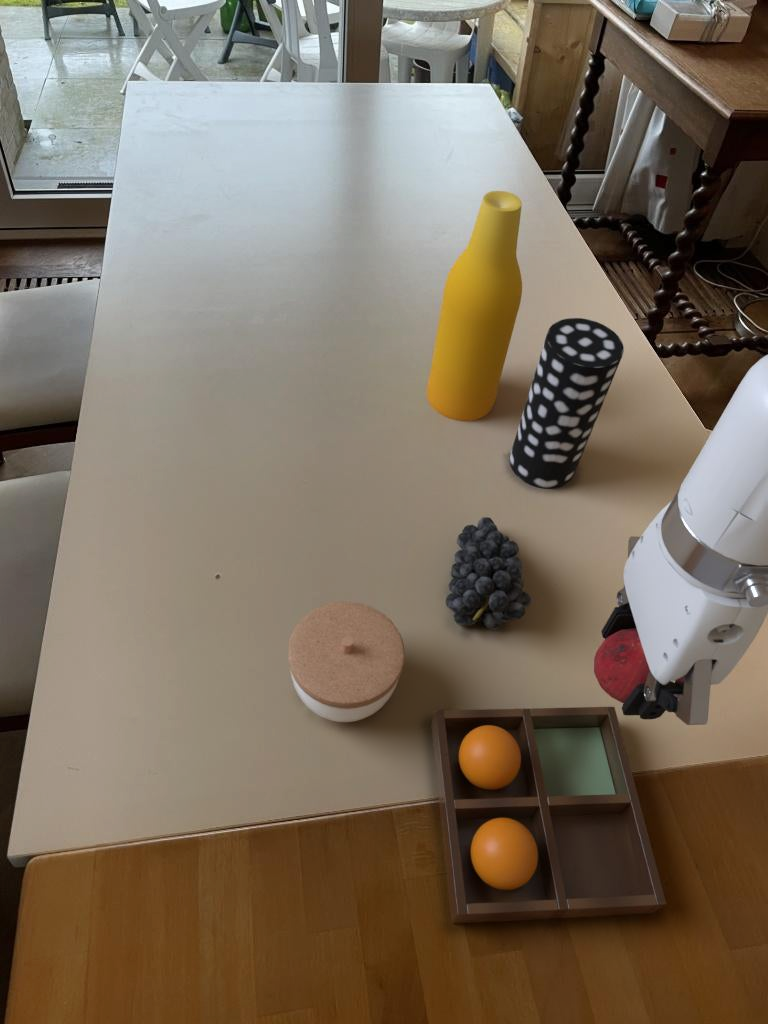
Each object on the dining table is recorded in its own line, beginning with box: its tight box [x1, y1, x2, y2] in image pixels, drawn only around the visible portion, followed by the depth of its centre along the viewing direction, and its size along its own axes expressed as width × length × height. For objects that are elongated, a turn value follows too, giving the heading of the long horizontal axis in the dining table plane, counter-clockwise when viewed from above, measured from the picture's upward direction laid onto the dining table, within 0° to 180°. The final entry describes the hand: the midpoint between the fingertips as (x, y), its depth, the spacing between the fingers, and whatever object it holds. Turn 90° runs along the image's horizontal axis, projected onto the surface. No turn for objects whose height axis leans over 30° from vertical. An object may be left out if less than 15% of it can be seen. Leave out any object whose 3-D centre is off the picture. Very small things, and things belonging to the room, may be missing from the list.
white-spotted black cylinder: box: [508, 317, 625, 490], centre depth 92 cm, size 8×8×20 cm
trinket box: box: [287, 600, 406, 723], centre depth 74 cm, size 11×11×9 cm
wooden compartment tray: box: [430, 706, 667, 925], centre depth 70 cm, size 17×17×4 cm
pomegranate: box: [593, 628, 650, 704], centre depth 61 cm, size 6×6×8 cm
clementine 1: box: [459, 725, 521, 790], centre depth 71 cm, size 6×6×6 cm
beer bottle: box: [426, 190, 523, 422], centre depth 95 cm, size 9×9×29 cm
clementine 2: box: [471, 818, 538, 890], centre depth 66 cm, size 6×6×6 cm
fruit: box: [445, 516, 532, 631], centre depth 84 cm, size 9×8×15 cm
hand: (630, 671), depth 62 cm, fingers closed on pomegranate, 5 cm apart
